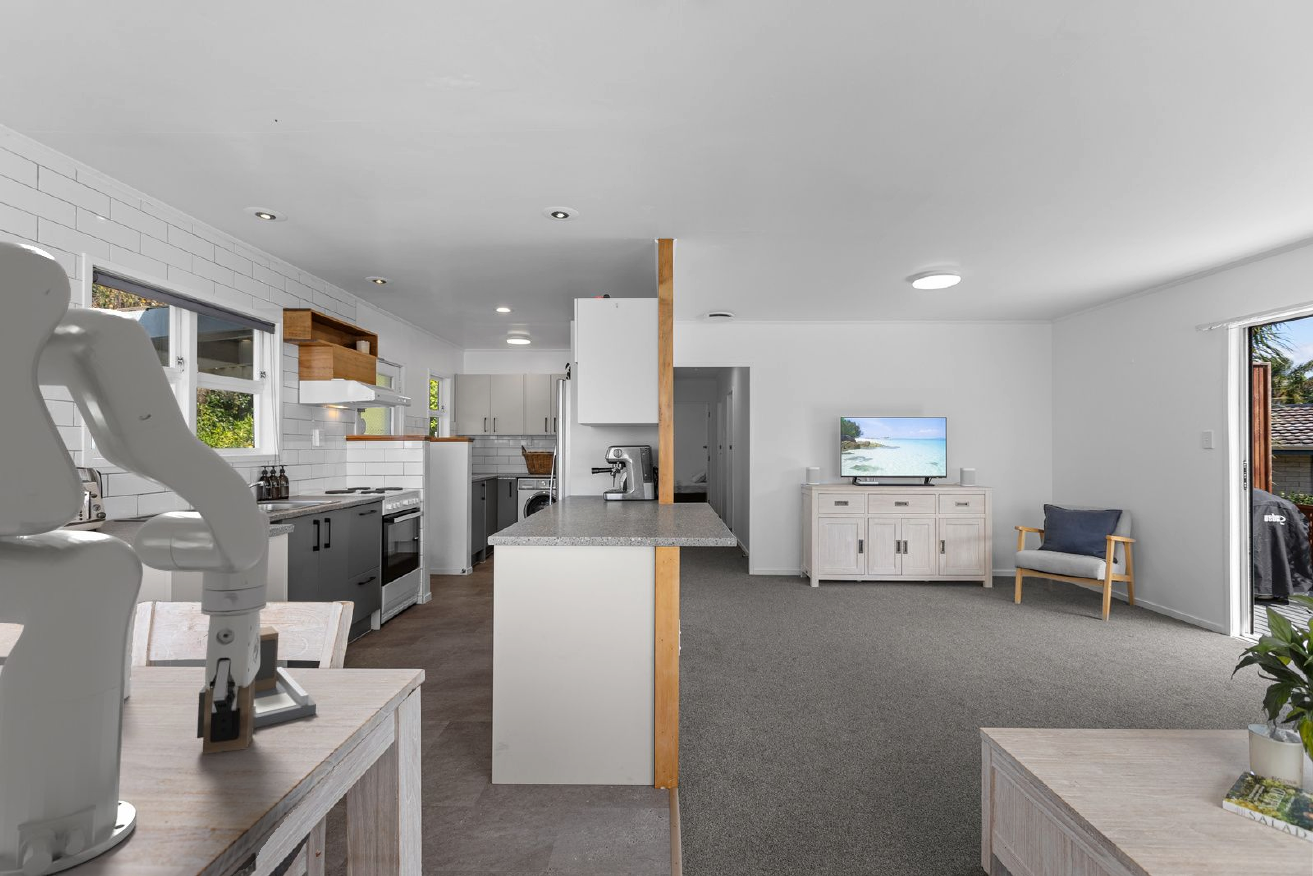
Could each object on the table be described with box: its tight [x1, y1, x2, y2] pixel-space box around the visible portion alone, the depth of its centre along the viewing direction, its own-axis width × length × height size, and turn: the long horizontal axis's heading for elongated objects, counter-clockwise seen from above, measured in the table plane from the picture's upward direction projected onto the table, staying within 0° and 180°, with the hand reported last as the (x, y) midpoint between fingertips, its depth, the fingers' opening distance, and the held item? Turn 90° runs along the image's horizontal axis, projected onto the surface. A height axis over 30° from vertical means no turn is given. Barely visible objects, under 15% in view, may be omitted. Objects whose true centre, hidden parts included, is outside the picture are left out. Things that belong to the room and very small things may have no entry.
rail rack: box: [253, 626, 317, 729], centre depth 101 cm, size 18×10×10 cm, turn 43°
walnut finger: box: [196, 677, 255, 755], centre depth 87 cm, size 4×6×9 cm
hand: (228, 731), depth 87 cm, fingers closed on walnut finger, 4 cm apart
